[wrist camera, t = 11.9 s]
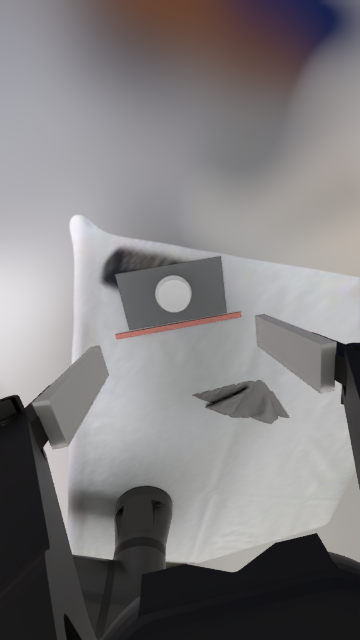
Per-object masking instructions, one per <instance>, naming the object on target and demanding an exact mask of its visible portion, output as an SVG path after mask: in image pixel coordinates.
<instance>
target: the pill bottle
mask: <svg viewBox="0 0 360 640" xmlns="http://www.w3.org/2000/svg"><path fill="white" fill-rule="evenodd" d="M191 294H192V293H191V287H190V285H189V283H188V282H187V281H186V280H185V279H184V278H182V277H180V276H177V275H168V276H166V277H164V278H163V279H162V280H161V281H160V282H159V283H158V285H157V287H156V291H155V296H156V300H157V302H158V304H159V305H160V306H161V307H162V308H163V309H165V310H166V311H169V312H179V311H182V310H183V309H185V308H186V307H187V306H188V304H189V302H190V300H191Z"/></svg>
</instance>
